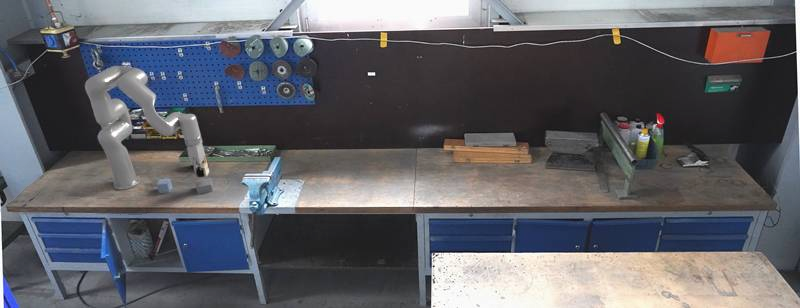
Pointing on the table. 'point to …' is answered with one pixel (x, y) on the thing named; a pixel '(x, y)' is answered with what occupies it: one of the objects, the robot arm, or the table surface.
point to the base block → (204, 185)
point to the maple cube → (205, 169)
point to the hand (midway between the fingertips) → (202, 173)
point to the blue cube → (164, 185)
